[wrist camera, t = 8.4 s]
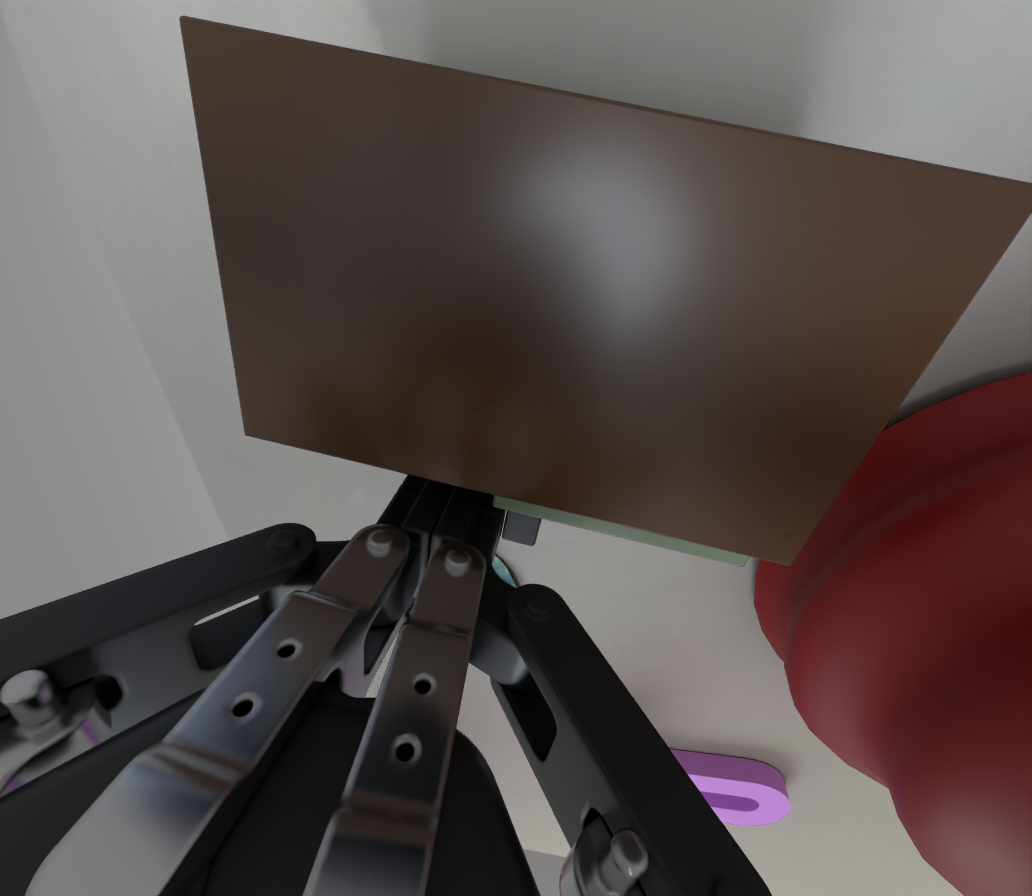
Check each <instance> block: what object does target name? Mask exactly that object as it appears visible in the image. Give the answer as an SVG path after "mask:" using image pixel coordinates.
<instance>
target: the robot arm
mask: <svg viewBox="0 0 1032 896" xmlns="http://www.w3.org/2000/svg"><path fill="white" fill-rule="evenodd" d="M493 499H494V495H492V494H488V493H483V492H479V491H475V490H471V489H467V488H463V487H458V486H454V485H450V484H446V483H442V482H438V481H434V480H429V479H425V478H421V477H417V476H413V475H409V474H408V475H407V477H406V478H405V480H404V481H403V484H401V486H400V487H399V489H398V491H397V493H396V494H395V495H394V497H393V498H392V500H391V501H390V503H389V505H388V506H387V508H386V509H385V511H384V512H383V514H382V515H381V517H380V518H379V520H378V522H377V523H376V524H374V525H370V526H367V527H365V528H363V529H361V530H360V531H358V532H357V533H356V534H355V535H354V536H353V538H352V539H351V540H347V541H316V536H315V534H314V532H313V531H312V530H311V529H310V528H308V527H306V526H304V525H301V524H296V523H283V524H278V525H274V526H271V527H268V528H265V529H262V530H259V531H256V532H254V533H251V534H248V535H245V536H242V537H239V538H236V539H233V540H230V541H227V542H225V543H222V544H219V545H216V546H213V547H210V548H207V549H204V550H201V551H198V552H195V553H193V554H190V555H187V556H184V557H181V558H178V559H175V560H172V561H169V562H166V563H164V564H161V565H158V566H155V567H152V568H149V569H146V570H143V571H140V572H137V573H134V574H132V575H129V576H125V577H123V578H120V579H117V580H114V581H111V582H108V583H105V584H102V585H100V586H96V587H93V588H90V589H87V590H85V591H82V592H79V593H76V594H73V595H70V596H67V597H64V598H61V599H58V600H55V601H53V602H50V603H47V604H44V605H41V606H38V607H35V608H32V609H29V610H26V611H23V612H20V613H18V614H15V615H12V616H9V617H6V618H3V619H0V896H540V893H539V890H538V888H537V886H536V883H535V880H534V878H533V875H532V872H531V870H530V867H529V865H528V862H527V860H526V857H525V855H524V852H523V849H522V847H521V844H520V842H519V839H518V836H517V834H516V831H515V829H514V826H513V824H512V821H511V818H510V816H509V813H508V811H507V808H506V806H505V803H504V801H503V798H502V795H501V793H500V790H499V788H498V785H497V783H496V780H495V778H494V775H493V773H492V771H491V769H490V767H489V765H488V763H487V762H486V760H485V758H484V757H483V755H482V754H481V753H480V751H479V750H478V748H477V747H476V746H475V745H474V744H473V743H472V742H471V741H470V740H469V738H467V737H466V736H465V735H464V734H463V733H461V732H460V731H459V730H457V729H456V726H457V720H458V715H459V710H460V704H461V699H462V694H463V689H464V683H465V678H466V673H467V667H468V662H469V663H471V664H472V665H474V666H475V667H477V668H478V669H480V670H481V671H483V672H484V673H486V674H487V675H489V676H490V681H491V685H492V688H493V690H494V692H495V694H496V696H497V698H498V700H499V702H500V704H501V706H502V708H503V710H504V713H505V715H506V717H507V719H508V721H509V723H510V725H511V727H512V729H513V731H514V733H515V735H516V737H517V739H518V741H519V743H520V745H521V747H522V749H523V751H524V753H525V755H526V757H527V760H528V762H529V764H530V766H531V768H532V770H533V772H534V774H535V776H536V778H537V780H538V782H539V784H540V786H541V788H542V790H543V792H544V794H545V796H546V798H547V800H548V802H549V805H550V807H551V809H552V811H553V813H554V815H555V817H556V819H557V821H558V823H559V825H560V827H561V829H562V831H563V833H564V835H565V837H566V839H567V841H568V843H569V845H570V847H571V850H570V852H569V853H568V855H567V857H566V859H565V860H564V863H563V866H562V869H561V874H560V883H559V887H560V896H772V895H771V893H770V891H769V889H768V887H767V886H766V884H765V883H764V881H763V879H762V878H761V876H760V875H759V874H758V872H757V871H756V869H755V868H754V867H753V865H752V864H751V862H750V861H749V860H748V858H747V857H746V855H745V854H744V853H743V851H742V850H741V848H740V847H739V846H738V844H737V843H736V841H735V840H734V839H733V837H732V836H731V834H730V833H729V832H728V830H727V829H726V827H725V826H724V825H723V823H722V822H721V820H720V819H719V818H718V816H717V815H716V813H715V812H714V811H713V809H712V808H711V806H710V805H709V804H708V802H707V801H706V799H705V798H704V796H703V795H702V794H701V792H700V791H699V789H698V788H697V787H696V785H695V784H694V782H693V781H692V780H691V778H690V777H689V775H688V774H687V773H686V771H685V770H684V768H683V767H682V766H681V764H680V763H679V761H678V760H677V759H676V757H675V756H674V754H673V753H672V752H671V750H670V749H669V747H668V746H667V745H666V743H665V742H664V740H663V739H662V738H661V736H660V735H659V733H658V732H657V731H656V729H655V728H654V726H653V725H652V724H651V722H650V721H649V719H648V718H647V716H646V715H645V714H644V712H643V711H642V709H641V708H640V707H639V705H638V704H637V702H636V701H635V700H634V698H633V697H632V695H631V694H630V693H629V691H628V690H627V688H626V687H625V686H624V684H623V683H622V681H621V680H620V679H619V677H618V676H617V674H616V673H615V672H614V670H613V669H612V667H611V666H610V665H609V663H608V662H607V660H606V659H605V658H604V656H603V655H602V653H601V652H600V651H599V649H598V648H597V646H596V645H595V644H594V642H593V641H592V639H591V638H590V637H589V635H588V634H587V632H586V631H585V629H584V628H583V627H582V625H581V624H580V622H579V621H578V620H577V618H576V617H575V615H574V614H573V613H572V611H571V610H570V608H569V607H568V606H567V604H566V603H565V601H564V600H563V599H562V598H561V596H560V595H559V594H558V593H557V592H555V591H554V590H552V589H550V588H548V587H546V586H543V585H539V584H526V585H522V586H520V587H518V588H516V587H514V586H512V585H510V584H509V583H507V582H505V581H504V580H503V579H502V578H500V577H499V575H498V574H497V573H496V572H495V570H494V568H493V566H492V564H493V560H494V556H495V553H496V550H497V546H498V542H499V539H500V535H501V532H502V527H503V522H504V517H505V512H506V510H504V509H500V508H496V507H494V506H493ZM257 595H258V596H259V599H257V600H255V601H253V602H250V603H248V604H246V605H243V606H241V607H239V608H236V609H234V610H232V611H229V612H227V613H225V614H223V615H220V616H218V617H215V618H213V619H211V620H208V621H206V622H204V623H202V624H199V625H194V624H195V623H196V622H198V621H199V620H201V619H203V618H205V617H207V616H209V615H212V614H214V613H216V612H219V611H221V610H224V609H226V608H228V607H231V606H233V605H235V604H238V603H240V602H242V601H245V600H247V599H250V598H252V597H254V596H257ZM412 597H415V598H416V599H415V602H414V605H413V608H412V611H411V614H410V617H409V619H408V622H404V619H405V612H406V610H407V608H408V606H409V604H410V601H411V599H412ZM403 622H404V623H403ZM193 625H194V626H193ZM400 628H401V629H400ZM399 630H400V631H399ZM398 632H399V634H398ZM397 634H398V637H397V640H396V643H395V646H394V648H393V651H392V654H391V657H390V660H389V663H388V666H387V668H386V671H385V674H384V677H383V680H382V683H381V686H380V688H379V691H378V694H377V697H376V698H365V696H366V693H367V690H368V688H369V686H370V683H371V682H372V680H373V678H374V676H375V674H376V672H377V670H378V669H379V667H380V665H381V663H382V661H383V659H384V658H385V656H386V654H387V652H388V650H389V648H390V647H391V645H392V643H393V641H394V639H395V637H396V636H397Z"/></svg>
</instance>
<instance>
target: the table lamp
mask: <svg viewBox="0 0 1032 896" xmlns="http://www.w3.org/2000/svg"><path fill="white" fill-rule="evenodd" d="M754 605H755V608H756V612H757V615H758V619H759V623H760V626H761V630H762V631H763V633H764V635H765V636H766V638H767V639H768V641H769V642H770V644H771V646H772V647H773V649H774V650H775V652H776V654H777V655H778V656H779V657H780V658H781V659H782V660H783V661H784V667H785V671H786V675H787V680H788V684H789V688H790V692H791V695H792V699H793V702H794V705H795V707H796V709H797V710H798V712H799V714H800V715H801V717H802V718H803V720H804V722H805V723H806V725H807V726H808V728H809V730H810V731H811V732H812V733H813V734H814V735H816V736H817V737H818V738H819V739H820V740H821V741H822V742H823V743H824V744H825V745H826V746H827V747H829V748H830V749H831V750H832V751H833V752H834V753H835V754H836V755H837V756H838V757H840V758H841V759H842V760H843V761H844V762H845V763H846V764H848V765H850V766H851V767H853V768H855V769H856V770H858V771H860V772H862V773H863V774H865V775H867V776H868V777H870V778H872V779H873V780H875V781H877V782H878V783H880V784H882V785H884V786H885V787H887V788H889V791H890V794H891V797H892V800H893V803H894V806H895V809H896V812H897V815H898V817H899V819H900V821H901V822H902V824H903V826H904V828H905V829H906V831H907V833H908V835H909V836H910V838H911V840H912V841H913V843H914V845H915V846H916V848H917V850H918V851H919V853H920V855H921V856H922V858H923V859H924V860H925V861H926V862H927V863H928V864H929V865H931V866H932V867H933V868H934V869H935V870H936V871H937V872H938V873H939V874H940V875H941V876H942V877H944V878H945V879H946V880H947V881H948V882H949V883H950V884H951V885H953V886H954V887H955V888H956V889H957V890H958V891H959V892H960V893H962V894H963V895H964V896H1032V372H1030V373H1026V374H1023V375H1019V376H1015V377H1011V378H1007V379H1004V380H1000V381H996V382H992V383H988V384H985V385H983V386H981V387H978V388H976V389H973V390H971V391H968V392H966V393H963V394H961V395H958V396H956V397H953V398H951V399H948V400H946V401H943V402H941V403H938V404H936V405H933V406H931V407H928V408H926V409H923V410H921V411H919V412H917V413H915V414H913V415H912V416H910V417H908V418H906V419H904V420H902V421H901V422H899V423H897V424H895V425H893V426H891V427H890V428H888V429H886V430H884V431H882V432H881V434H880V435H879V437H878V438H877V440H876V441H875V443H874V444H873V446H872V447H871V449H870V450H869V451H868V453H867V454H866V456H865V457H864V459H863V460H862V462H861V463H860V465H859V466H858V468H857V469H856V470H855V472H854V473H853V475H852V476H851V478H850V479H849V481H848V482H847V484H846V485H845V487H844V488H843V489H842V491H841V492H840V494H839V495H838V497H837V498H836V500H835V501H834V503H833V504H832V506H831V507H830V509H829V510H828V511H827V513H826V514H825V516H824V517H823V519H822V520H821V522H820V523H819V525H818V526H817V528H816V529H815V530H814V532H813V533H812V535H811V536H810V538H809V539H808V541H807V542H806V544H805V545H804V547H803V548H802V549H801V551H800V552H799V554H798V555H797V557H796V558H795V560H794V561H793V563H792V564H791V565H790V566H787V565H783V564H778V563H774V562H770V561H766V560H762V559H761V562H760V564H759V567H758V570H757V573H756V582H755V598H754Z"/></svg>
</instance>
